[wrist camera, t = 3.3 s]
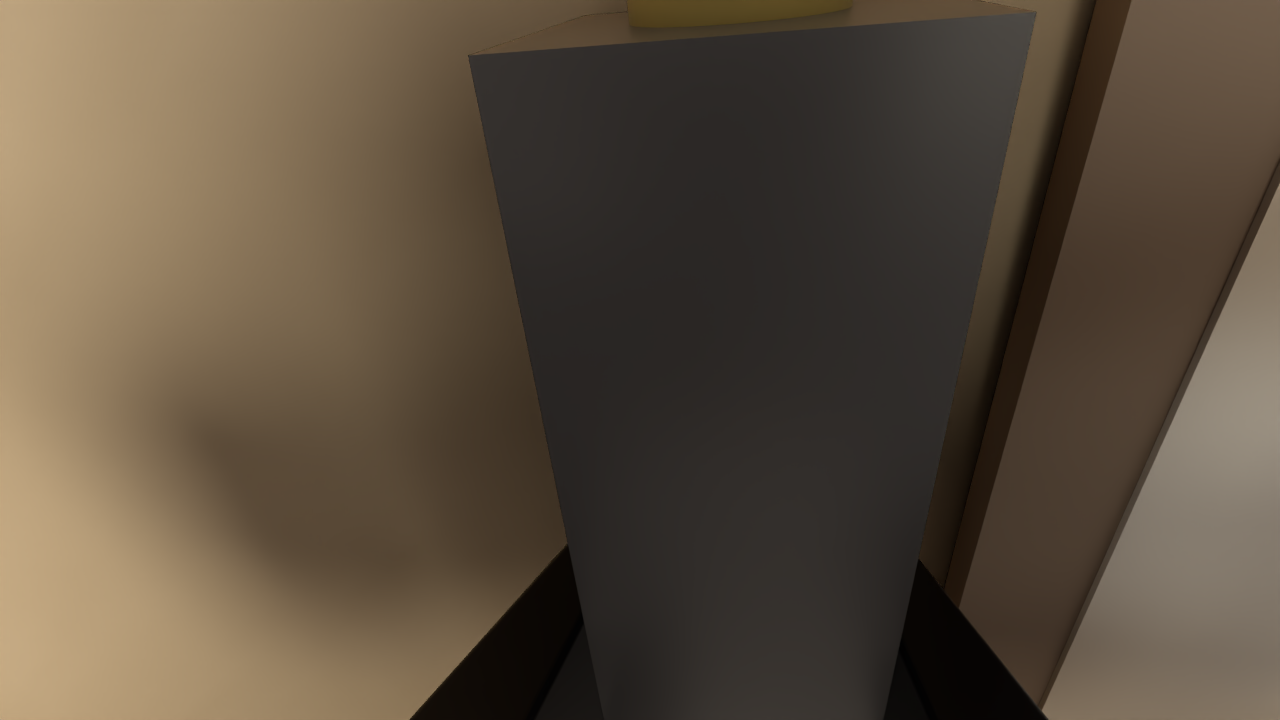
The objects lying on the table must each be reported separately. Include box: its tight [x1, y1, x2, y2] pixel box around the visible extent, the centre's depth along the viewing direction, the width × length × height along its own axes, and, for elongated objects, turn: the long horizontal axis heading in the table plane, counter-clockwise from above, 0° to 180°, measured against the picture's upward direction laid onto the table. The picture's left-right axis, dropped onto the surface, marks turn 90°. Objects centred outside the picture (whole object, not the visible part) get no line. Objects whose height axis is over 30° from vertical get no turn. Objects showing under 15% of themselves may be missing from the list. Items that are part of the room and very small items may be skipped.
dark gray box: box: [468, 0, 1036, 720], centre depth 7 cm, size 14×3×3 cm, turn 5°
